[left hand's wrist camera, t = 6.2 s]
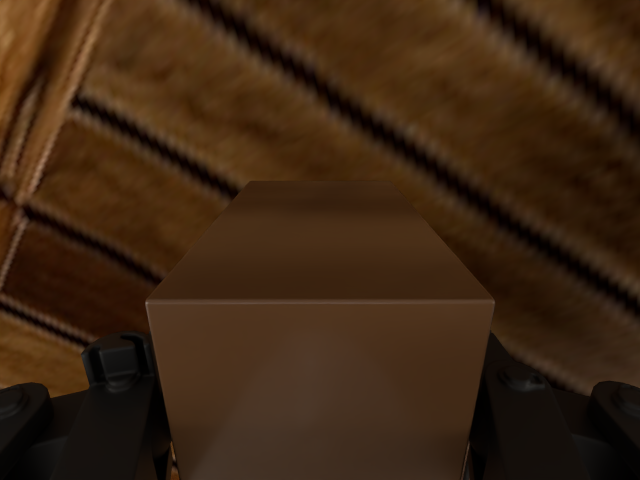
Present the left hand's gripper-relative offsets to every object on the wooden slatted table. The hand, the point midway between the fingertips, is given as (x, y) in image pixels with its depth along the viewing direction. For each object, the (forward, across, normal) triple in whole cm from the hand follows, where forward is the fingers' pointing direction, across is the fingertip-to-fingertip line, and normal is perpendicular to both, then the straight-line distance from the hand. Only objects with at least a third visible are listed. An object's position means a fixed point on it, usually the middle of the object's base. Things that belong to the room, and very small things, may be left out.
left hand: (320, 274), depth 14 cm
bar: (0, 0, -8) cm, 8 cm away
